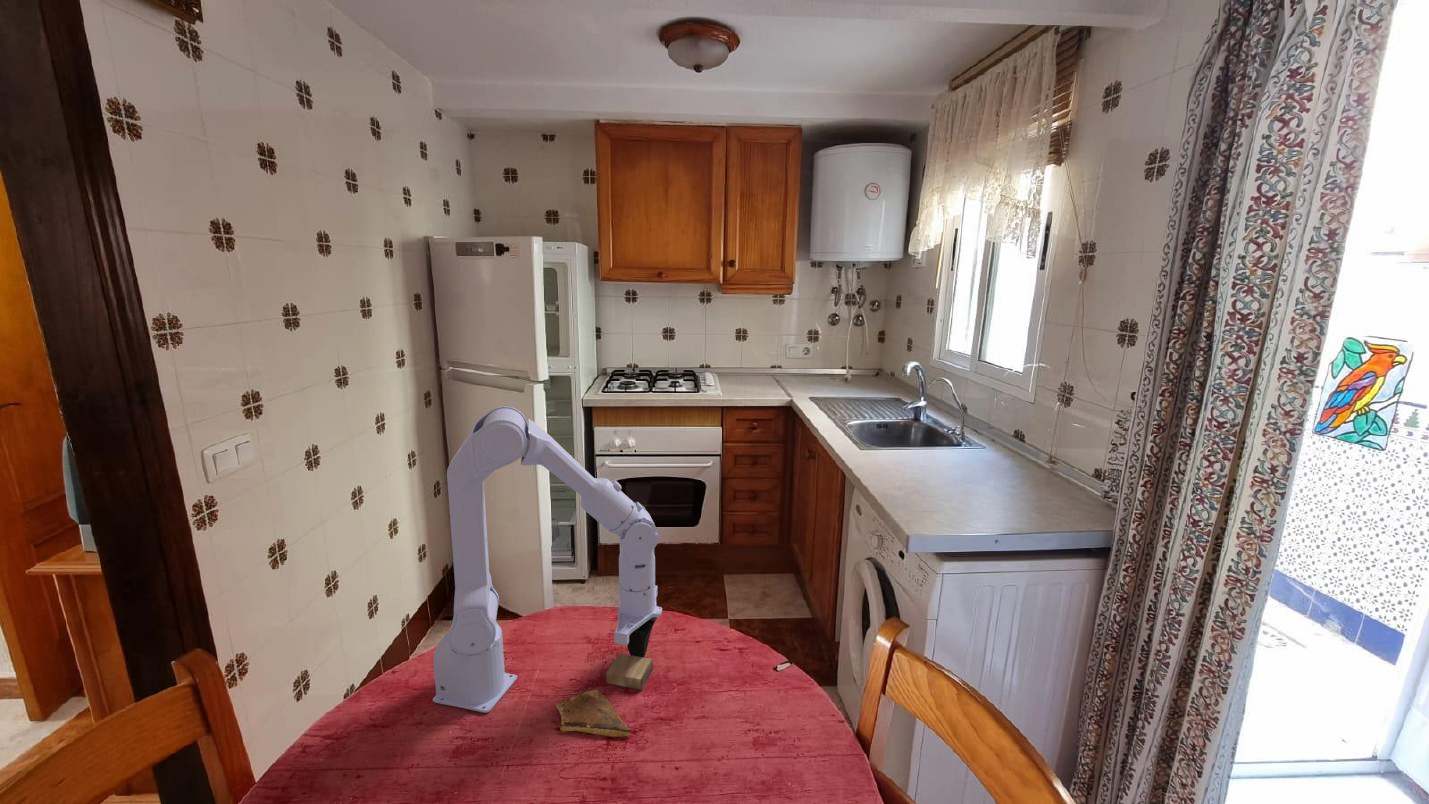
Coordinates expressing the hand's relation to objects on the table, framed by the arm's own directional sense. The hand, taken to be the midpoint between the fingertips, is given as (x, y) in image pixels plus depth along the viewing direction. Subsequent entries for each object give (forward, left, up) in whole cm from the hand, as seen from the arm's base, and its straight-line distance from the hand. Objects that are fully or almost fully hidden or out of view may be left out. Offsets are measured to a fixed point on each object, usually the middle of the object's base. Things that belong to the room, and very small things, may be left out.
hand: (638, 657), depth 94 cm
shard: (-2, -12, -2) cm, 12 cm away
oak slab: (-3, -3, 0) cm, 5 cm away
